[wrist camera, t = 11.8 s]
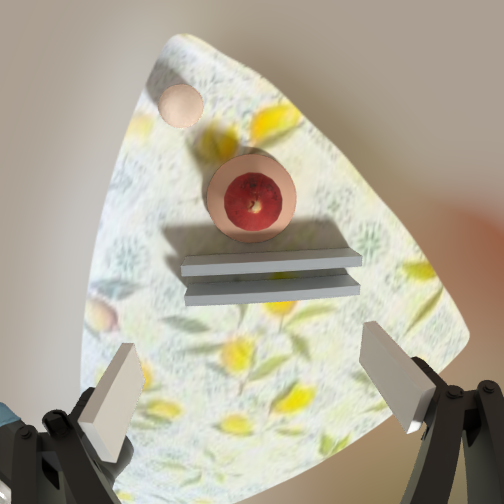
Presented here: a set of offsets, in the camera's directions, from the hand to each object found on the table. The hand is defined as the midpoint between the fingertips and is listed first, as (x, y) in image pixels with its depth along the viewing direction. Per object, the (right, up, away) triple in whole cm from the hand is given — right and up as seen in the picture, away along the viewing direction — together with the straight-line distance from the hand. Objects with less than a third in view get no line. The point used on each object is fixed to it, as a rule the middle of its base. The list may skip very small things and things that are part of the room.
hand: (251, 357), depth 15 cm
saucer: (0, +12, +18) cm, 21 cm away
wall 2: (+2, +5, +20) cm, 21 cm away
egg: (-7, +22, +15) cm, 28 cm away
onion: (0, +12, +17) cm, 21 cm away
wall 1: (+2, +2, +21) cm, 21 cm away
